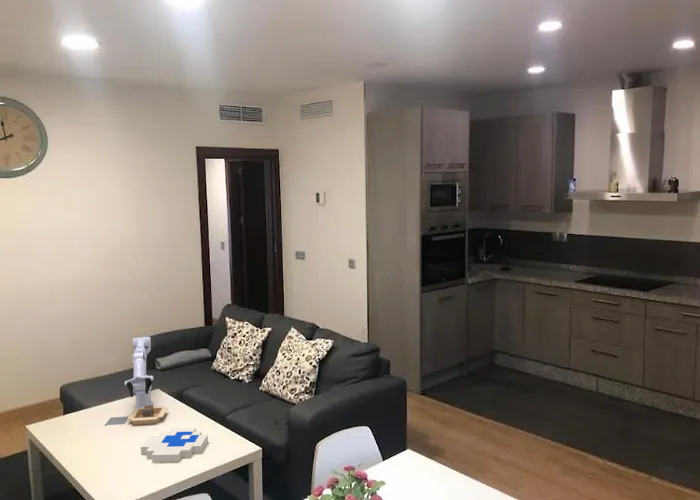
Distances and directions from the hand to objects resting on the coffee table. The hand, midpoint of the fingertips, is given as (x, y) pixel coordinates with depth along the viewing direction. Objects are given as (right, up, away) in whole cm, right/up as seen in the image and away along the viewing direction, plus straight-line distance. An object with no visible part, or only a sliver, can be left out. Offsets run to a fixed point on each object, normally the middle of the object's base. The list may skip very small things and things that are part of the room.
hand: (139, 394), depth 307 cm
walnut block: (+3, -14, +5) cm, 15 cm away
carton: (+3, -14, +5) cm, 15 cm away
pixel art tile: (+28, -18, -30) cm, 45 cm away
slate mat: (-13, -15, +3) cm, 20 cm away
